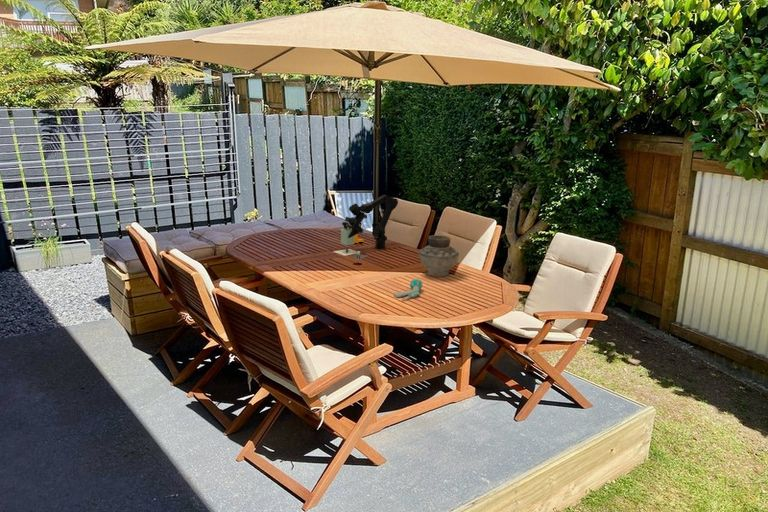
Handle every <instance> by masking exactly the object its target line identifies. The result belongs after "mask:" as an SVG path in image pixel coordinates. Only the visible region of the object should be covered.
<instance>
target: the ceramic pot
mask: <svg viewBox="0 0 768 512" xmlns="http://www.w3.org/2000/svg"><path fill="white" fill-rule="evenodd" d="M427 240H428V245H426V246H424V247H423V248H422V249H420V250H419V251H418V258H419V261H420V263H421V265H422V266H423V268H425V269H426V270H427V275H428V276H431V277H436V278H437V277H445V276H449V273H450V270H451V269H452V268H453V267H454V266H455V265H456V263H457V262H458V259H459V255H460V252H459V251H458V250H456V249H455V248H454V247H453V246H451V245H450V243H451V237H450V236H449V235H448V236H447V235H438V234H437V235H435V234H434V235H429V236H428V239H427Z"/></svg>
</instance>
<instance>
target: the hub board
mask: <svg viewBox="0 0 768 512" xmlns="http://www.w3.org/2000/svg"><path fill="white" fill-rule="evenodd" d="M357 251H358V250H355V249H352V248H349V246H346V247H345V249H342V250H334V251H333V253H332V254H334V253H336V254H337V255H338V254H339V255H341V256H349V255H350V256H352V255H354V254H357Z"/></svg>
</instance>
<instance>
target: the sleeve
mask: <svg viewBox="0 0 768 512" xmlns="http://www.w3.org/2000/svg"><path fill="white" fill-rule="evenodd" d="M351 231H352V229H349V228H348V229H344V228H341V229H340V244H342V245H344V246H348V245H355V244H354V236H352V237H350V238H348V236H349V234H350V233H351Z"/></svg>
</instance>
